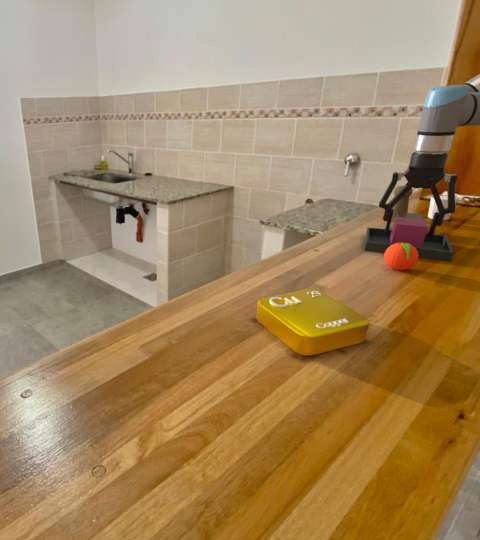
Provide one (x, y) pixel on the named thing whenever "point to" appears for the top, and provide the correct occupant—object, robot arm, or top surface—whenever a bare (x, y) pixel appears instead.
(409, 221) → the mulberry cube
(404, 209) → the cork
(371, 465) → the top surface
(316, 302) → the element tile
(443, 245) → the tray
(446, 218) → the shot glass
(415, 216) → the walnut block
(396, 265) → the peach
